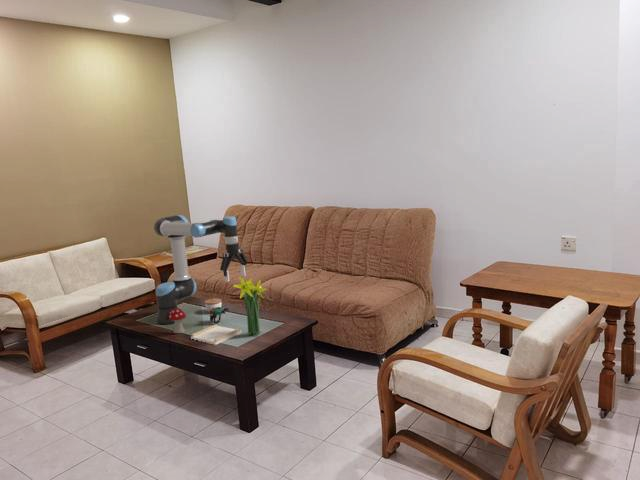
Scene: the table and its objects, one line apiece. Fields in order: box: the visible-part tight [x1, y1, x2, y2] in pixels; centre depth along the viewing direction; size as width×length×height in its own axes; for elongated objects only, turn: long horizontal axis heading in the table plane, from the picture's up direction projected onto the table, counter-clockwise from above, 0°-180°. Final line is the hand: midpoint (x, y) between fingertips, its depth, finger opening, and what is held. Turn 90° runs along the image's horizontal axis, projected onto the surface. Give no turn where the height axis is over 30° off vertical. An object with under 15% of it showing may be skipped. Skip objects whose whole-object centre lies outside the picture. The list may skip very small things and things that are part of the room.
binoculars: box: [207, 307, 229, 325], centre depth 312 cm, size 9×11×10 cm
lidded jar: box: [204, 297, 222, 312], centre depth 335 cm, size 11×11×9 cm
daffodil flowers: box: [232, 276, 268, 336], centre depth 285 cm, size 17×15×35 cm
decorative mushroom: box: [169, 308, 187, 334], centre depth 297 cm, size 10×9×15 cm
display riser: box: [190, 323, 242, 346], centre depth 289 cm, size 20×20×3 cm
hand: (235, 278), depth 299 cm, fingers open, 13 cm apart
